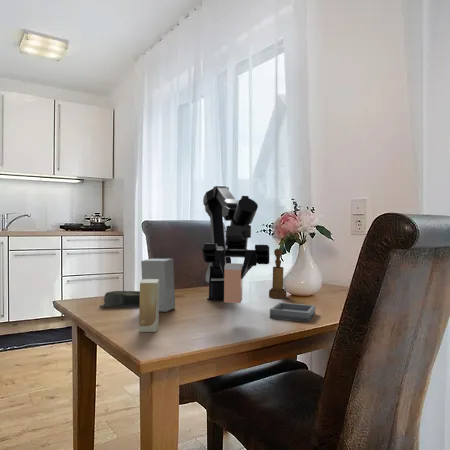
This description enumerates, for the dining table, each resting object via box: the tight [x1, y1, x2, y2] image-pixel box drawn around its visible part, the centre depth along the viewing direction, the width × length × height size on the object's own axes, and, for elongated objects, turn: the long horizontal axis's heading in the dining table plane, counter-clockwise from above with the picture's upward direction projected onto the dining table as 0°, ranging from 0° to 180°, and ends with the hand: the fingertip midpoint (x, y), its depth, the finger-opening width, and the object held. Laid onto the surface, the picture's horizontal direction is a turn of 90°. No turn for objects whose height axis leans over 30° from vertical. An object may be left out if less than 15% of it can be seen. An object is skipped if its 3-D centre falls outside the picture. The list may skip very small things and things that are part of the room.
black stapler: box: [99, 290, 140, 308], centre depth 124 cm, size 5×3×15 cm
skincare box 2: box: [138, 279, 160, 333], centre depth 97 cm, size 6×4×12 cm
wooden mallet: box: [268, 248, 287, 299], centre depth 144 cm, size 7×6×18 cm
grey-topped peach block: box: [223, 262, 244, 304], centre depth 104 cm, size 4×4×10 cm
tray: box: [269, 301, 316, 323], centre depth 113 cm, size 11×11×2 cm
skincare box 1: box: [140, 258, 176, 313], centre depth 119 cm, size 8×7×16 cm
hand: (233, 277), depth 103 cm, fingers closed on grey-topped peach block, 4 cm apart
